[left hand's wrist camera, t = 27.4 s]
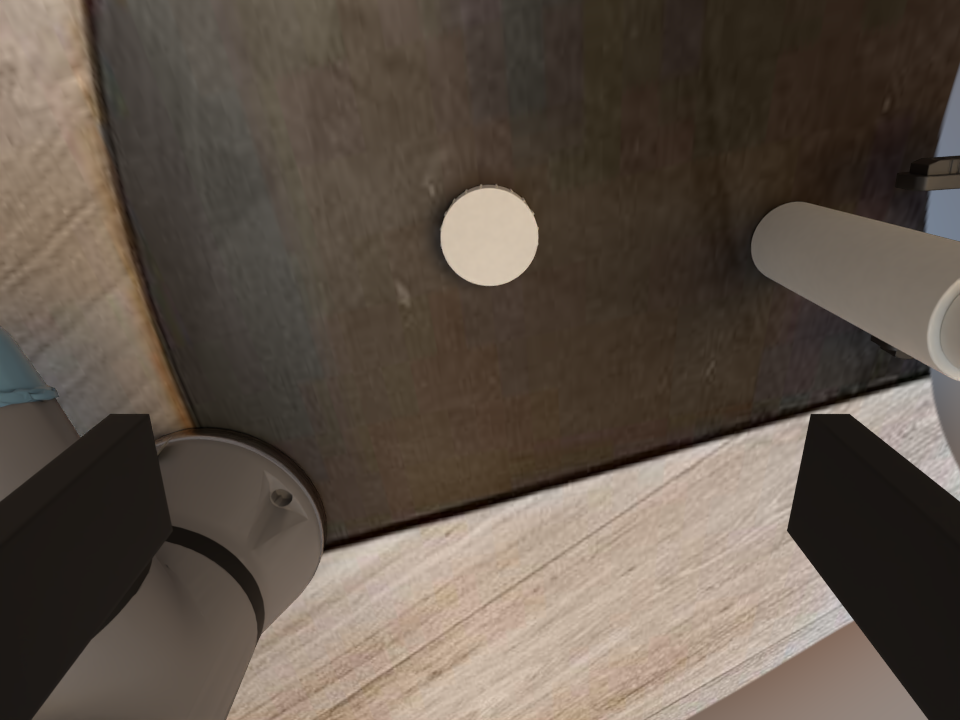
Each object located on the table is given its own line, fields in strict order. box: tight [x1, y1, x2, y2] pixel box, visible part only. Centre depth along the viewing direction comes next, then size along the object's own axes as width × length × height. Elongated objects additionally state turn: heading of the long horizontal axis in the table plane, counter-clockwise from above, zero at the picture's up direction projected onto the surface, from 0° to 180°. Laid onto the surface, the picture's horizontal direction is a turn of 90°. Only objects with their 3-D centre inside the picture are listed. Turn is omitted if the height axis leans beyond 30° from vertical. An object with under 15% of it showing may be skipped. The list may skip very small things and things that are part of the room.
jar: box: [751, 202, 960, 381], centre depth 30 cm, size 5×5×18 cm
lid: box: [440, 184, 539, 286], centre depth 38 cm, size 6×6×2 cm
